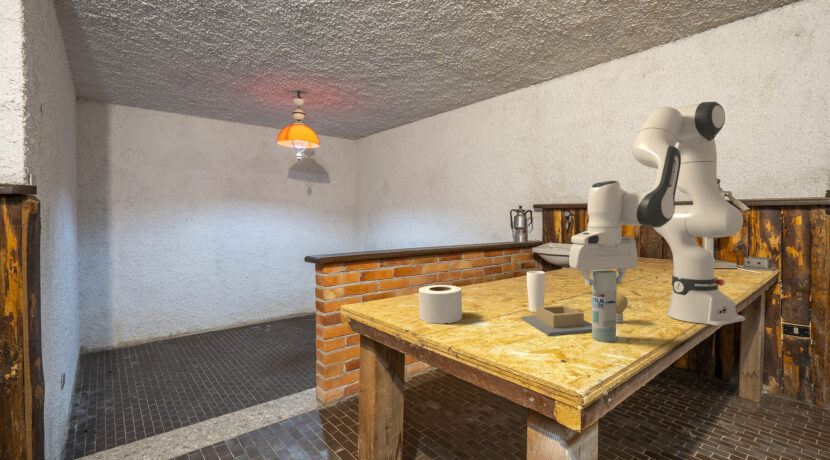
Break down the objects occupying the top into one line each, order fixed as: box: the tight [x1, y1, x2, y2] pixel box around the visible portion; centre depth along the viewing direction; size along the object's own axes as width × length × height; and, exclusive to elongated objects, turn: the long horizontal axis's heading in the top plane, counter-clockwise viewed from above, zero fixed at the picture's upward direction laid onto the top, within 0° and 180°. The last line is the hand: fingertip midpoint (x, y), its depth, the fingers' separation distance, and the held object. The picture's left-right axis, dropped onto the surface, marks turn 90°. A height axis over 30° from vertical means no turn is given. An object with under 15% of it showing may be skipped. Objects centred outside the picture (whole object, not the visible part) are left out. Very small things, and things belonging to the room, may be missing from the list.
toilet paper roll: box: [418, 284, 463, 325], centre depth 132 cm, size 16×15×11 cm
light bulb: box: [616, 292, 629, 324], centre depth 123 cm, size 6×6×10 cm
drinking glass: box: [526, 270, 546, 314], centre depth 138 cm, size 7×7×15 cm
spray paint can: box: [591, 269, 618, 343], centre depth 107 cm, size 6×6×20 cm
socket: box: [520, 304, 592, 337], centre depth 121 cm, size 18×18×5 cm
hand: (603, 284), depth 107 cm, fingers open, 8 cm apart
